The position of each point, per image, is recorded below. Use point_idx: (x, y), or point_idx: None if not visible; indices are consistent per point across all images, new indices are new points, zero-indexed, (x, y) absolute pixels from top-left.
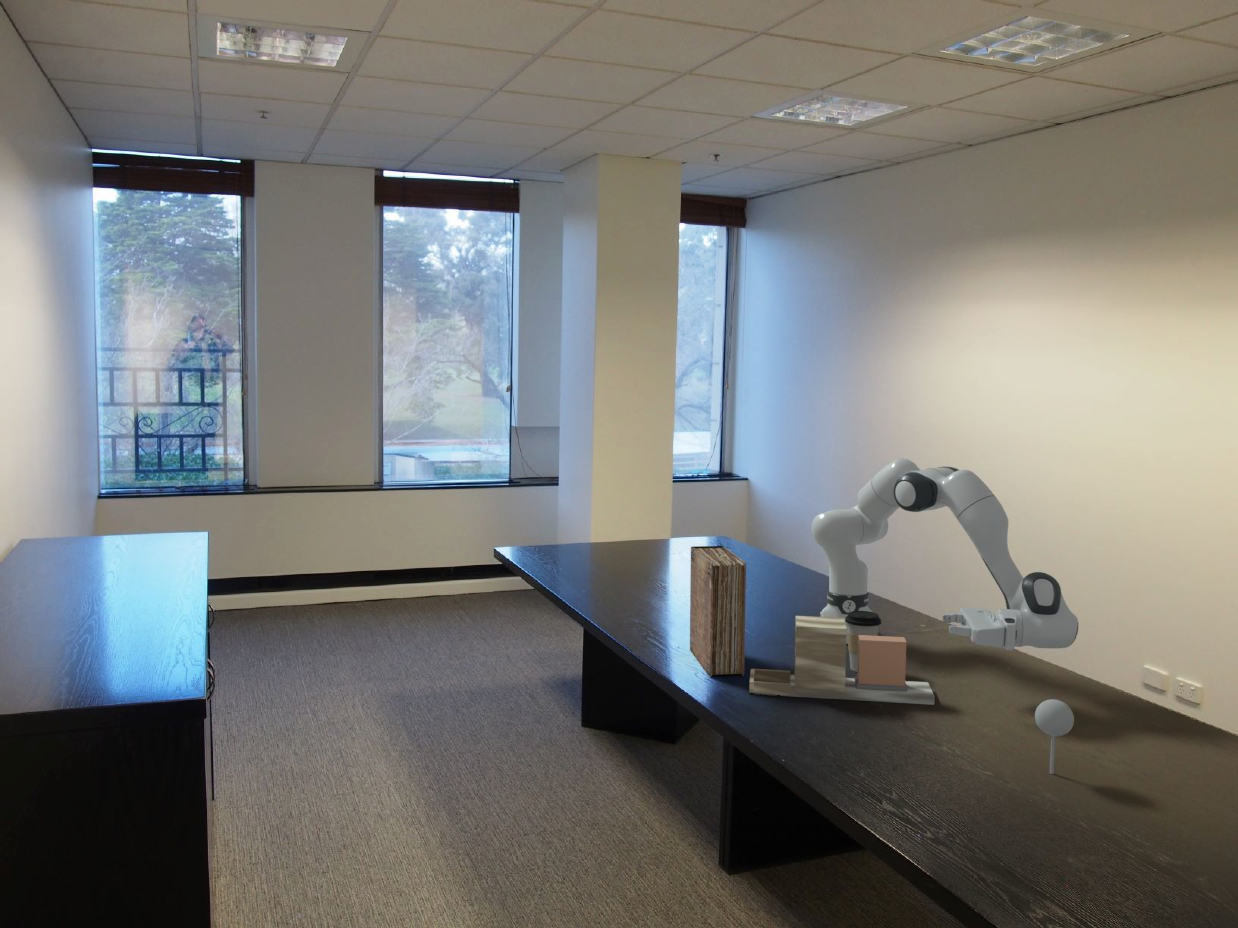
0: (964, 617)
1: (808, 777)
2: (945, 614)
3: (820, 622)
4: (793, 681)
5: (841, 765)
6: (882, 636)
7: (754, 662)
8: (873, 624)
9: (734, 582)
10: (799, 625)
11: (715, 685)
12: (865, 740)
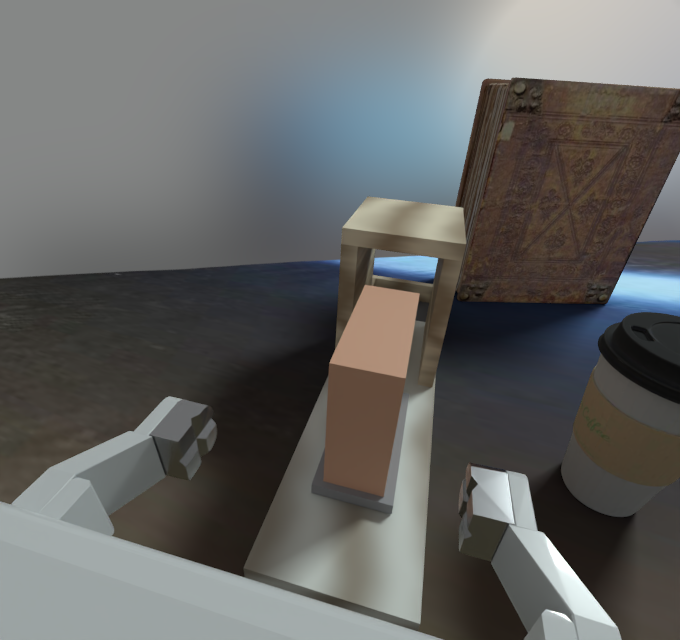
0: (373, 621)
1: (50, 278)
2: (521, 487)
3: (404, 216)
4: None
5: (50, 306)
6: (408, 330)
7: (544, 322)
8: (628, 371)
9: (494, 124)
10: (375, 199)
11: (405, 275)
12: (110, 351)
